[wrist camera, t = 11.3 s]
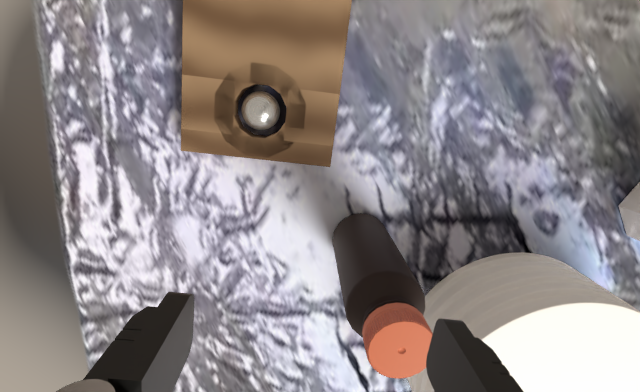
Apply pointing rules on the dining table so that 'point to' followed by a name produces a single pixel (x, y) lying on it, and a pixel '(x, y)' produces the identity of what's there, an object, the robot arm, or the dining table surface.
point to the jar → (631, 213)
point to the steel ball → (260, 110)
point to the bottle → (381, 297)
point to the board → (263, 75)
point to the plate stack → (541, 324)
